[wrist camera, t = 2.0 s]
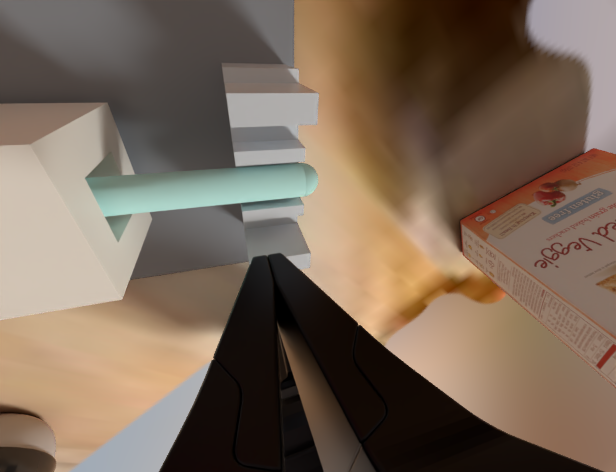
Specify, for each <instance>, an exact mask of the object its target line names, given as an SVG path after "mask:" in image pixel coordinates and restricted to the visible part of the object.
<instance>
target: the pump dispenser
mask: <svg viewBox="0 0 616 472" xmlns="http://www.w3.org/2000/svg"><path fill="white" fill-rule="evenodd" d="M55 452H56V439H55V435H54V432H53V430H52V429H51V427H50V426H49V425H48V424H47V423H46V422H44V421H43V420H41V419H39V418H36V417H33V416H30V415H25V414H15V413H6V414H0V472H54V470H55V468H56V460H55Z"/></svg>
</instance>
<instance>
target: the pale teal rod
mask: <svg viewBox="0 0 616 472" xmlns="http://www.w3.org/2000/svg"><path fill="white" fill-rule="evenodd" d="M85 179H86V181H87V183H88V185H89V187H90V189H91V191H92V193H93V195H94V197H95V199H96V201H97V203H98V205H99V207H100V209H101V211H102V213H103V215H104V217H107V216H117V215H126V214H136V213H146V212H156V211H166V210H176V209H186V208H195V207H205V206H215V205H225V204H235V203H245V202H255V201H265V200H274V199H284V198H294V197H304V196H308V195H310V194H311V193H312V192H313V191H314V190H315V189H316V187H317V184H318V175H317V173H316V171H315V169H314V168H313V167H312V166H310V165H308V164H305V163H293V164H279V165H265V166H250V167H236V168H221V169H207V170H192V171H178V172H164V173H149V174H135V175H120V176H106V177H92V178H85Z"/></svg>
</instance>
